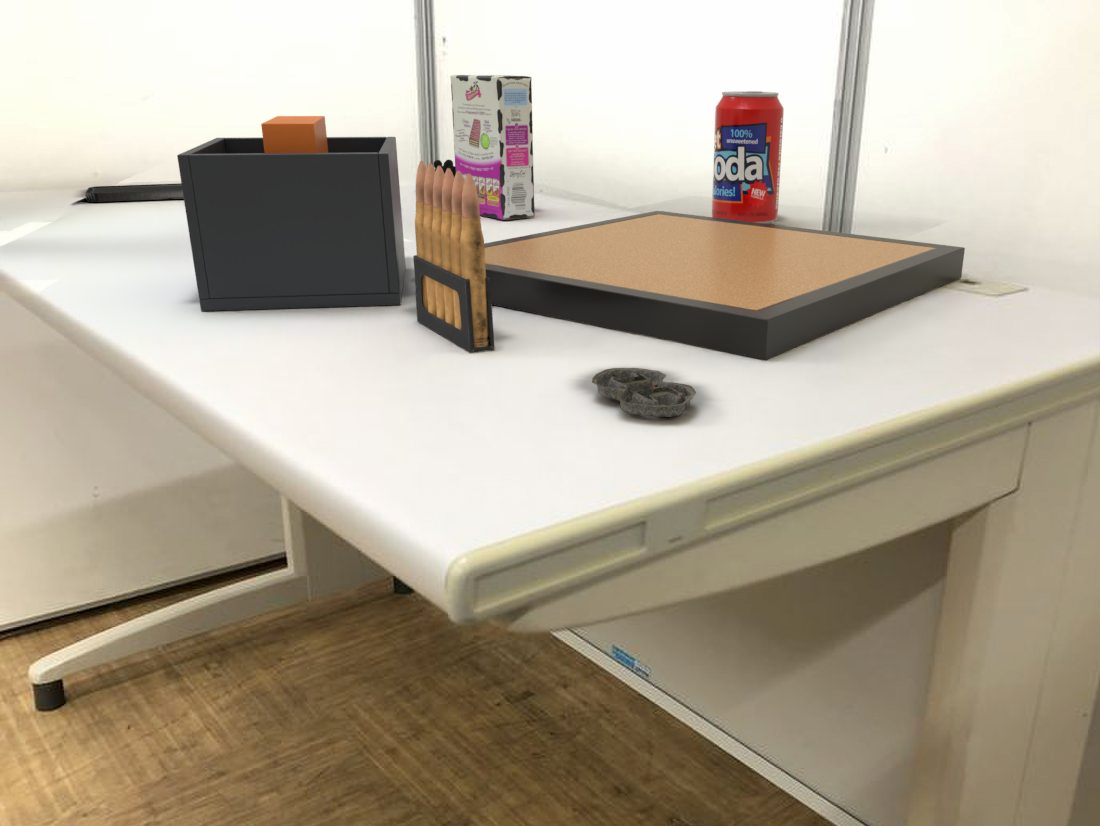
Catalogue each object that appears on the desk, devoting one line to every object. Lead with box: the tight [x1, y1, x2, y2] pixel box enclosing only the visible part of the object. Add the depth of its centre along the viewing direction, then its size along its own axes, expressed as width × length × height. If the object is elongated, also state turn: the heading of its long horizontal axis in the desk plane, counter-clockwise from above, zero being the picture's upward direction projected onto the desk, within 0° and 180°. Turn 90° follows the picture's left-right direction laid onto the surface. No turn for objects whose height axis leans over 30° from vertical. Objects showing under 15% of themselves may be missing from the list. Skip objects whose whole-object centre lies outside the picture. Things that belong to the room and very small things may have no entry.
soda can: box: [711, 90, 785, 224], centre depth 124 cm, size 8×8×15 cm
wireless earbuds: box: [433, 159, 456, 177], centre depth 146 cm, size 7×2×5 cm, turn 120°
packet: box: [260, 115, 328, 153], centre depth 90 cm, size 4×9×13 cm, turn 10°
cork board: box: [484, 210, 966, 361], centre depth 95 cm, size 36×3×35 cm
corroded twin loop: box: [591, 367, 697, 418], centre depth 64 cm, size 5×8×1 cm, turn 30°
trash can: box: [176, 136, 406, 312], centre depth 90 cm, size 16×16×12 cm
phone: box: [84, 182, 184, 203], centre depth 144 cm, size 8×1×15 cm
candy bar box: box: [449, 74, 536, 221], centre depth 130 cm, size 11×5×16 cm, turn 40°
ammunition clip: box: [412, 160, 495, 354], centre depth 76 cm, size 11×2×12 cm, turn 31°
